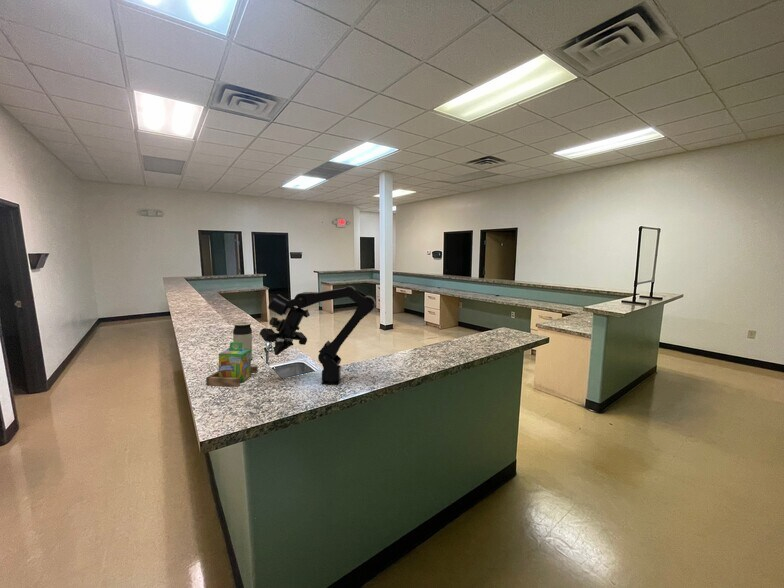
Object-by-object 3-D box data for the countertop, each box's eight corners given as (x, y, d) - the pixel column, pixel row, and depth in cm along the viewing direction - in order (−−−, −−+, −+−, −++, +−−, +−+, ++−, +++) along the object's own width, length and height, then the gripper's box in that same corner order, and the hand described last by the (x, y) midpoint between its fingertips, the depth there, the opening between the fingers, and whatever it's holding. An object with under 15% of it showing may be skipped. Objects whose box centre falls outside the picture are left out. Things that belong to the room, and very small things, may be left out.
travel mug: (244, 363, 145) (244, 325, 144) (229, 362, 147) (229, 323, 145) (255, 358, 153) (255, 322, 151) (241, 357, 154) (240, 321, 153)
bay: (257, 373, 133) (257, 366, 133) (238, 387, 118) (238, 379, 117) (229, 371, 133) (229, 365, 133) (206, 385, 118) (206, 377, 118)
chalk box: (217, 383, 120) (217, 345, 119) (228, 375, 129) (227, 339, 128) (243, 383, 121) (242, 345, 120) (251, 375, 130) (251, 340, 129)
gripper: (301, 314, 136) (286, 344, 139) (262, 307, 122) (245, 341, 124) (314, 327, 130) (298, 359, 132) (275, 322, 115) (257, 358, 117)
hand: (275, 354), depth 126 cm, fingers closed
